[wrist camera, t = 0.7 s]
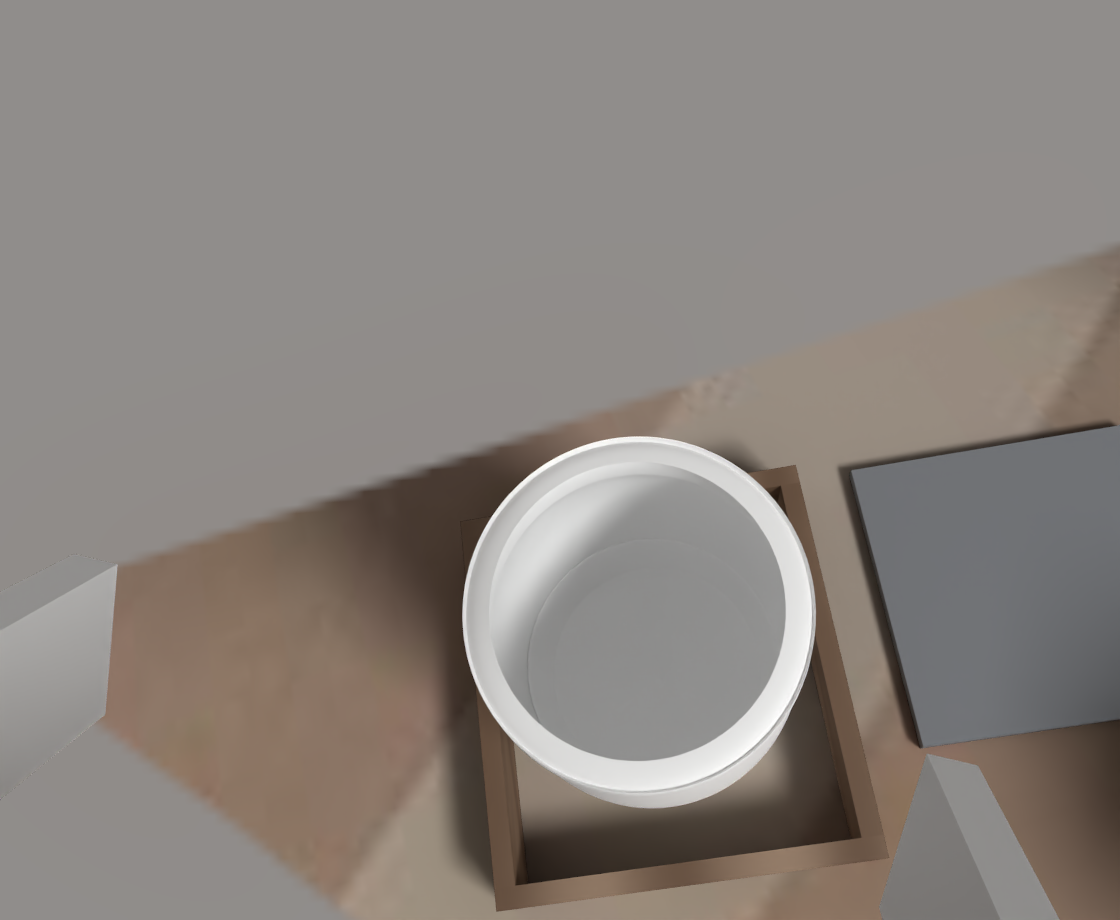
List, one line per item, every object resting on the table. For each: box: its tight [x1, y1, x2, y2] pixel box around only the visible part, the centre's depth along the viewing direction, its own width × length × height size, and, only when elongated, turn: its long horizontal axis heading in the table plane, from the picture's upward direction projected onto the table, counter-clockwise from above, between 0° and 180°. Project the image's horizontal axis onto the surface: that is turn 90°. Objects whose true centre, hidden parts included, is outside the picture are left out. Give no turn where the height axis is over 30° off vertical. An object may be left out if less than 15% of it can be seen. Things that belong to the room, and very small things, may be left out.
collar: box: [460, 465, 889, 912], centre depth 41 cm, size 15×16×3 cm
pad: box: [849, 425, 1120, 748], centre depth 42 cm, size 12×12×1 cm
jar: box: [462, 437, 816, 808], centre depth 36 cm, size 11×10×15 cm
